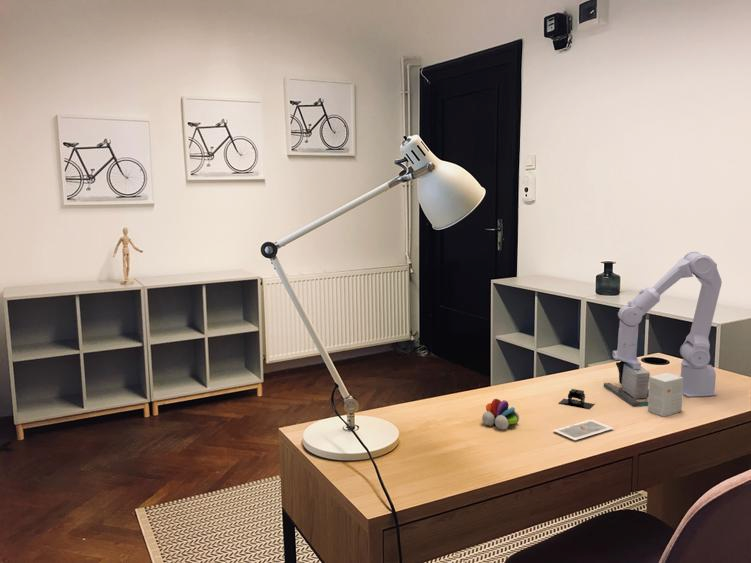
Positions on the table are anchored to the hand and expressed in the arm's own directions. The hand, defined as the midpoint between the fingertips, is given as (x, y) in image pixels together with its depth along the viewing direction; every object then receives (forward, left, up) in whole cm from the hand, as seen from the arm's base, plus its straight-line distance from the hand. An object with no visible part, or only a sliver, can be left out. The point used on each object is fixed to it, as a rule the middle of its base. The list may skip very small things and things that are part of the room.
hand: (624, 384), depth 206 cm
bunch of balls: (+47, +22, -2) cm, 52 cm away
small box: (-2, +20, -2) cm, 20 cm away
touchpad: (+27, +30, -3) cm, 41 cm away
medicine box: (-1, +5, -2) cm, 5 cm away
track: (-1, +6, -2) cm, 6 cm away
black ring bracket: (+20, +10, -3) cm, 22 cm away
